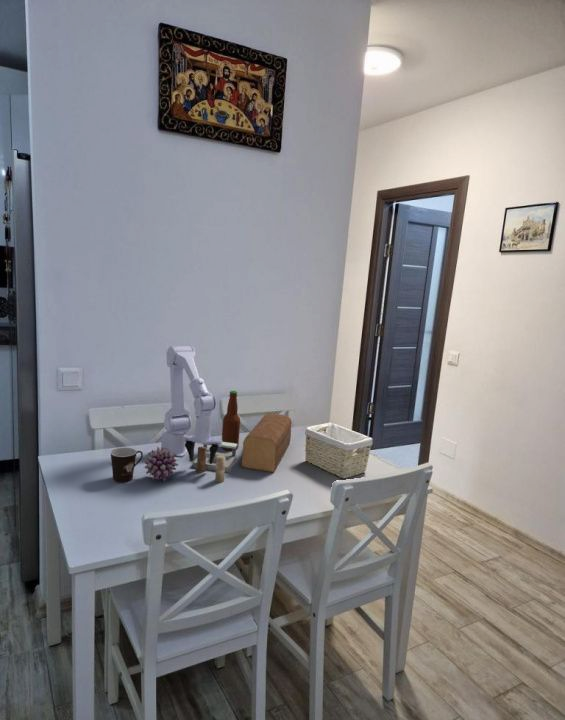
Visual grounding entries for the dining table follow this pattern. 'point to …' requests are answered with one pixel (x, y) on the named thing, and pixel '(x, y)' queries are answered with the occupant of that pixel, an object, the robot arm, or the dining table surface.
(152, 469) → the spiky ball
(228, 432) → the bottle
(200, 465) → the walnut peg
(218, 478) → the maple peg
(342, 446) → the storage basket
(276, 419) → the bread
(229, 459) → the socket board
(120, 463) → the coffee mug
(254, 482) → the dining table surface
